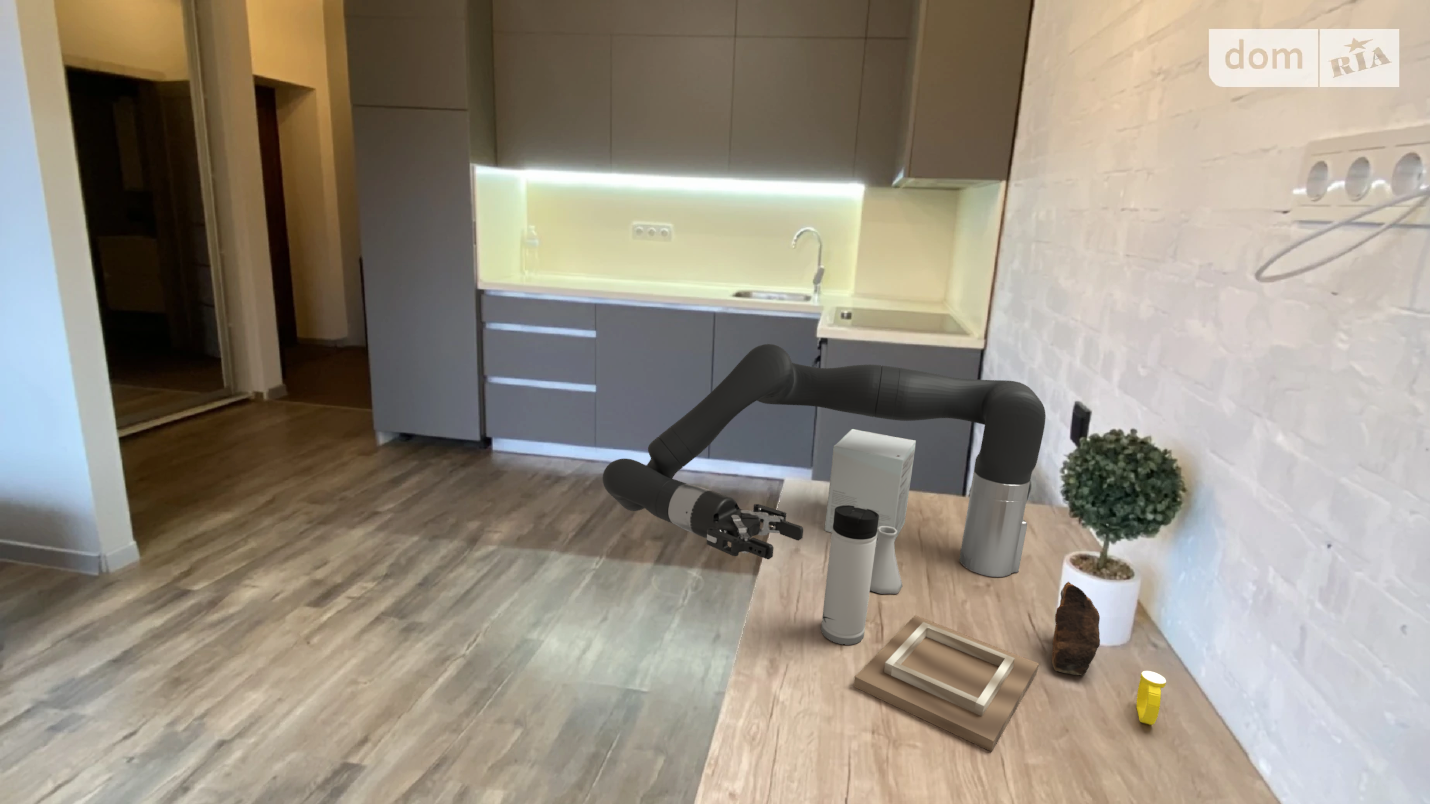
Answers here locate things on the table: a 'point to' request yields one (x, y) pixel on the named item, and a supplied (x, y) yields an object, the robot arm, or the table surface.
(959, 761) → the table surface
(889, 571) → the flask
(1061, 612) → the decorative rock
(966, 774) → the table surface
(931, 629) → the wooden square tray
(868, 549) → the travel mug
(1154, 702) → the watch
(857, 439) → the supplement box
